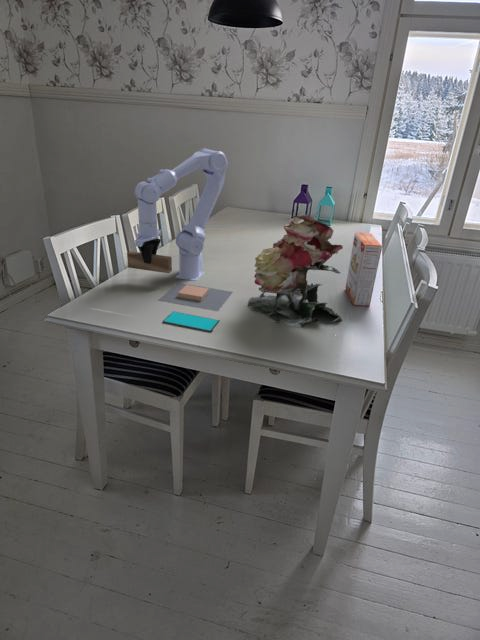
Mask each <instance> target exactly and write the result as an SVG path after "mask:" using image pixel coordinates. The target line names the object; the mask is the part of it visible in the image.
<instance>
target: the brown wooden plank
mask: <svg viewBox="0 0 480 640" xmlns="http://www.w3.org/2000/svg"><path fill="white" fill-rule="evenodd" d="M126 258H127V267H128V269H129V268H130V269H136V270H143V271H148V272H149V271H151V272H157V273H162V274H163V273H164V274H170V273H171V272H172V271H173V270H172V269H173V267H172V266H173V265H172V264H173V263H172V261H173V260H172V256H169V255H161V254H156V255H155V254H152V258H151V263H150V264H148V263H144V260H143V257H142V254H141V252H140V251H133V250H130V251H129V252H127V253H126Z"/></svg>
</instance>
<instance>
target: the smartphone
mask: <svg viewBox="0 0 480 640" xmlns="http://www.w3.org/2000/svg"><path fill="white" fill-rule="evenodd" d="M220 321H221V320H219V319H214V318H210V317H204V316H199V315H194V314H190V313H184V312H179V311H172V312H170V314H169V315H168V316H166V317H165V318H164V319H162V323H163V324H166V325H172V326H176V327H181V328H186V329H191V330H196V331H199V332H200V331H201V332H206V333H213V332H214V329H215V327H216V326H218V324H219V323H220Z"/></svg>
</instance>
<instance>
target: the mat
mask: <svg viewBox="0 0 480 640" xmlns="http://www.w3.org/2000/svg"><path fill="white" fill-rule="evenodd" d="M186 285H190V286H196V287H202V288H208V289H209V293H208V294H207V296H206V297H205V298H204V299H203V300H202V301H197V300H191V299H185V298H180V297H178V292H179V291H180V290H182V289H183V288H184V287H185V286H186ZM233 293H234V291H231V290H230V291H229V290H224V289H220V288H218V289H217V288H213V287H206V286H200V285H193V284H190V283H189V284H188V283H181V282H177V283H176V284H175V285H174V286H173V287H171V288H170V289H169V290H168V291H166V293H164V294H163V295H162V296H161V297H160V298H158V300H157V301H160V302H165V303H169V304H170V303H171V304H176V305H181V306H187V307H192V308H197V309H198V308H199V309H204V310H210V311H214V312H219V311H220V309H221V308H222V307H223V305H224V304H225V303H226V302H227V300H228V299H229V297H231V295H232V294H233Z"/></svg>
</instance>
